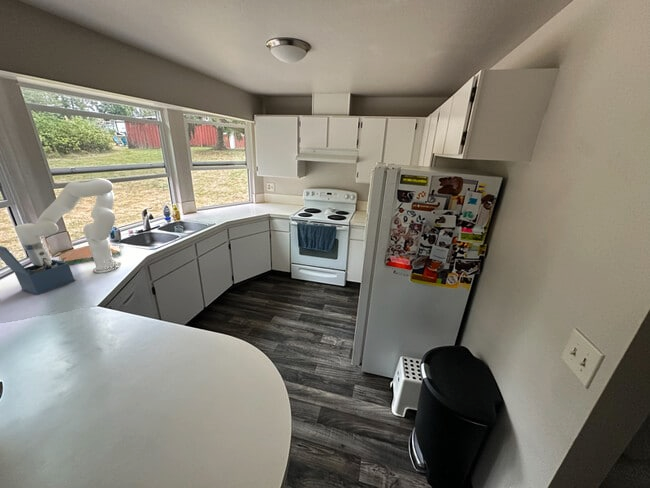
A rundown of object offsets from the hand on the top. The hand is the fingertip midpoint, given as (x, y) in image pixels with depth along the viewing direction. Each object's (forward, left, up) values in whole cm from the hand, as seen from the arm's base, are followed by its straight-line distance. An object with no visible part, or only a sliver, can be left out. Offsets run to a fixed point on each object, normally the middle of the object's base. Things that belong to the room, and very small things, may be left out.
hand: (46, 274), depth 144 cm
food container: (0, 0, -6) cm, 6 cm away
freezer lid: (+6, +9, +14) cm, 17 cm away
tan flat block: (+2, -44, -7) cm, 45 cm away
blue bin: (0, 0, -7) cm, 7 cm away
